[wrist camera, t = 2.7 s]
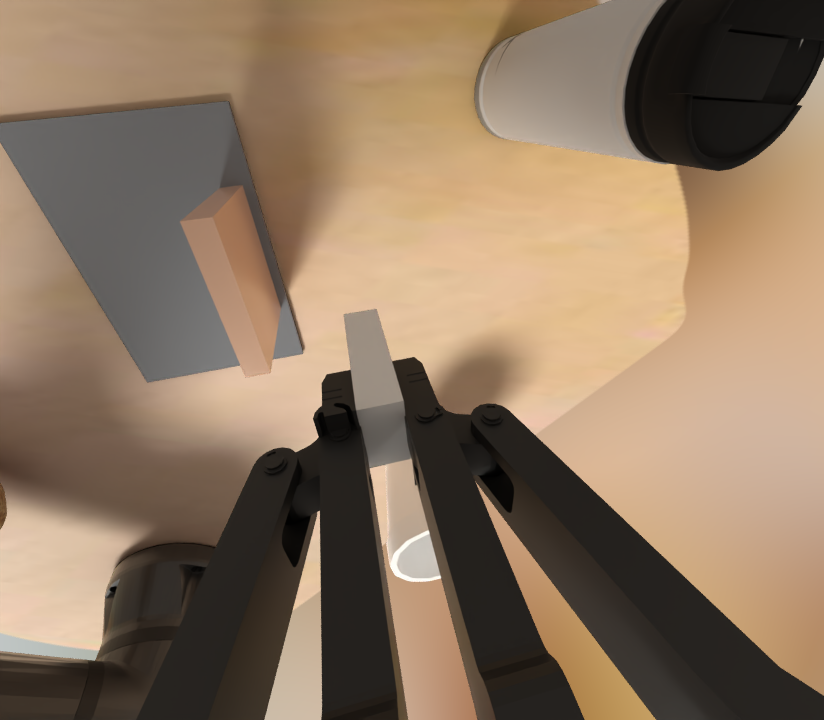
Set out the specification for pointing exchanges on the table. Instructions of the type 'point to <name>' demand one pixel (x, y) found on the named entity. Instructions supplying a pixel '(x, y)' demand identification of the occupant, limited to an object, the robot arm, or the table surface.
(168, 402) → the table surface
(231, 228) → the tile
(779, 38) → the travel mug
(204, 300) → the felt mat
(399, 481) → the foam cup
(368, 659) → the robot arm
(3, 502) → the natural sponge
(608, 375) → the table surface
